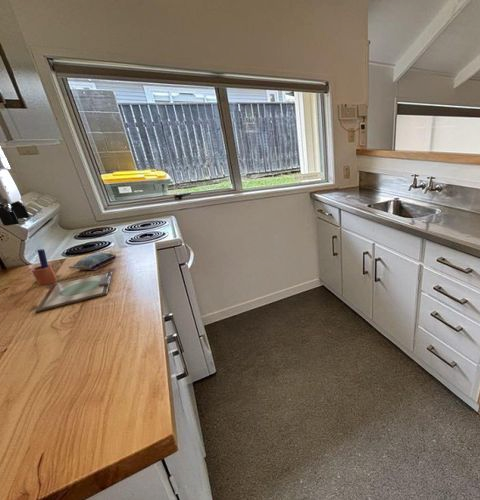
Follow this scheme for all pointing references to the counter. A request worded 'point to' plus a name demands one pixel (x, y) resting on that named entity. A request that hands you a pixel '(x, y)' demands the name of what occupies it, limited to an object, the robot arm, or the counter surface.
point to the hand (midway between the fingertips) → (17, 221)
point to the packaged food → (93, 261)
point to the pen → (42, 258)
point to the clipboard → (75, 291)
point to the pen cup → (44, 275)
